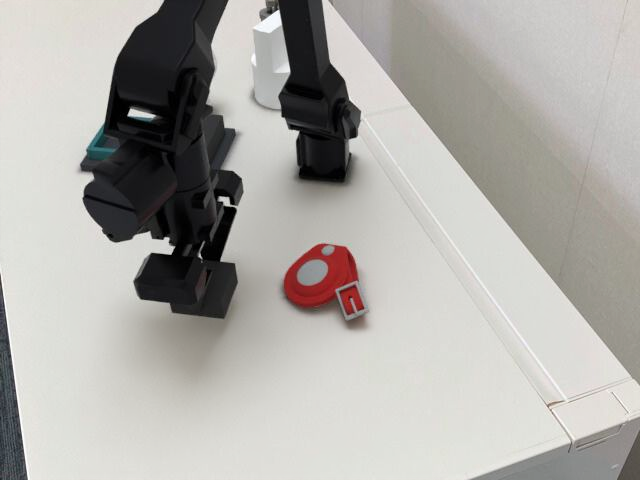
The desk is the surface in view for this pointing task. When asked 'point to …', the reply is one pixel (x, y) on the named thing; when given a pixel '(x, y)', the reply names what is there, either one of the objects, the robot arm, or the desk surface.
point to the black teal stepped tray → (104, 146)
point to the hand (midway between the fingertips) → (204, 290)
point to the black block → (214, 291)
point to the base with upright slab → (269, 61)
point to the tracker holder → (326, 280)
